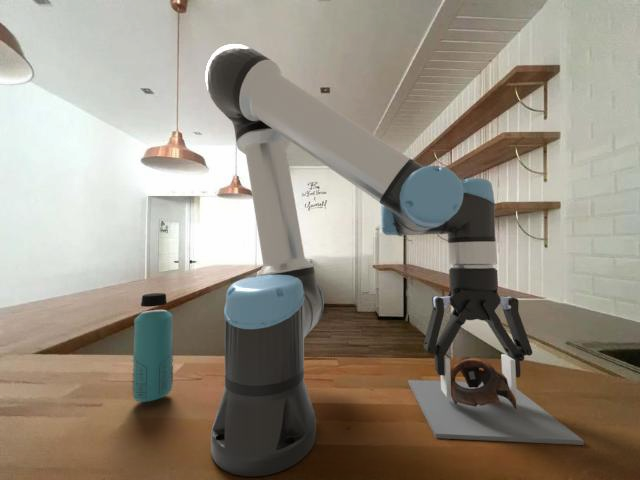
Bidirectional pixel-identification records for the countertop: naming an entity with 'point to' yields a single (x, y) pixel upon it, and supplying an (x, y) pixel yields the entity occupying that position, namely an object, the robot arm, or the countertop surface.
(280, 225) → the robot arm
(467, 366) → the broken terracotta jug
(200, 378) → the countertop surface
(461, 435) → the gray mat
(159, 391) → the beverage bottle
